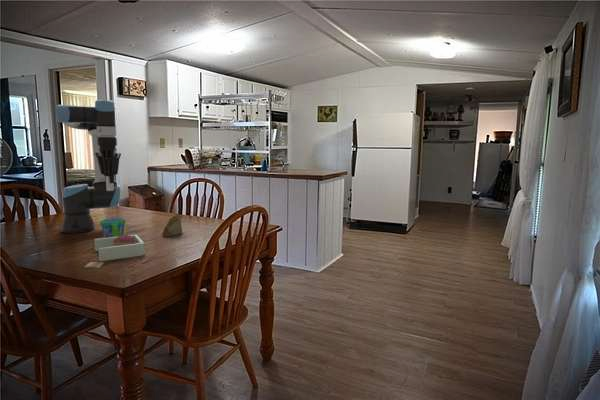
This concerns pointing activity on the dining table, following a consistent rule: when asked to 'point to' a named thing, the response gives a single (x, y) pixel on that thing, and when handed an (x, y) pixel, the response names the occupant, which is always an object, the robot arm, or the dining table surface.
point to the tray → (118, 248)
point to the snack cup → (113, 227)
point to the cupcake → (123, 239)
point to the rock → (173, 226)
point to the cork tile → (94, 265)
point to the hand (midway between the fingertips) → (110, 190)
